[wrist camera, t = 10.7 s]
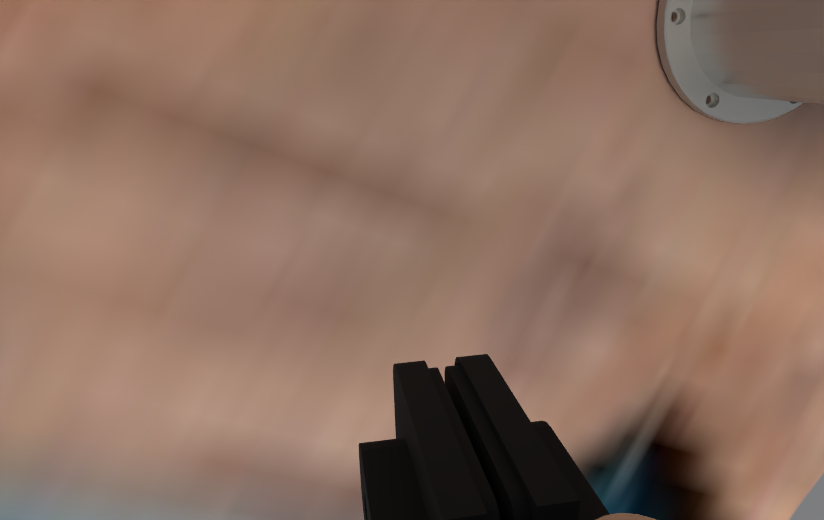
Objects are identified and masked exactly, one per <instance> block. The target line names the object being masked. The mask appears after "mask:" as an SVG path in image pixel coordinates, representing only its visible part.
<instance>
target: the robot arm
mask: <svg viewBox="0 0 824 520" xmlns="http://www.w3.org/2000/svg"><path fill="white" fill-rule="evenodd" d="M671 15H673V19H672V20H671ZM657 45H658V49H659V54H660V58H661V63H662V66H663V68H664V71H665V73H666V75H667V78H668V80H669V82H670V84H671V85H672V86H673V88H674V89H675V91H676V92H677V94H678V95H679V96H680V98H682V99H683V100H684V101H685V102H686V103H687V104H688V105H689V106H690V107H691V108H692V109H694V110H696V111H698V112H699V113H701V114H703V115H705V116H707V117H709V118H712V119H716V120H719V121H723V122H730V123H738V124H750V123H760V122H764V121H768V120H772V119H776V118H778V117H780V116H782V115H784V114H786V113H789V112H791V111H793V110H794V109H796V108H797V107H799V106H800V105H801V104H803V103H815V104H824V0H660V1H659V8H658V16H657ZM706 99H707V100H706ZM393 381H394V403H395V426H396V439H391V440H383V441H375V442H367V443H359V460H360V475H361V489H362V501H363V511H364V520H656V519H652V518H649V517H645V516H642V515H638V514H625V513H618V514H611V515H610V514H609V513H608V511H607V510H606V508H605V507H604V505H603V504H602V502H601V501H600V499H599V498H598V496H597V495H596V493H595V492H594V490H593V489H592V487H591V486H590V484H589V483H588V481H587V480H586V479H585V477H584V476H583V474H582V473H581V471H580V470H579V468H578V467H577V465H576V464H575V462H574V461H573V459H572V458H571V456H570V455H569V453H568V452H567V450H566V449H565V447H564V446H563V445H562V443H561V442H560V440H559V439H558V437H557V436H556V434H555V433H554V431H553V430H552V428H551V427H550V426H549V425H548V423H547V422H545V421H536V422H530V420H529V419H528V417H527V415H526V414H525V412H524V411H523V409H522V407H521V406H520V404H519V403H518V401H517V399H516V398H515V396H514V395H513V393H512V392H511V390H510V388H509V387H508V385H507V384H506V382H505V380H504V379H503V377H502V376H501V374H500V373H499V371H498V369H497V368H496V366H495V365H494V363H493V361H492V360H491V358H490V357H489V356H488V354H483V355H474V356H464V357H456V360H455V366H447V367H446V368H445V383H444V381H443V378H442V376H441V374H440V372H439V369H438V368H428V367H427V364H426V362H425V361H417V362H408V363H398V364H394V366H393Z"/></svg>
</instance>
